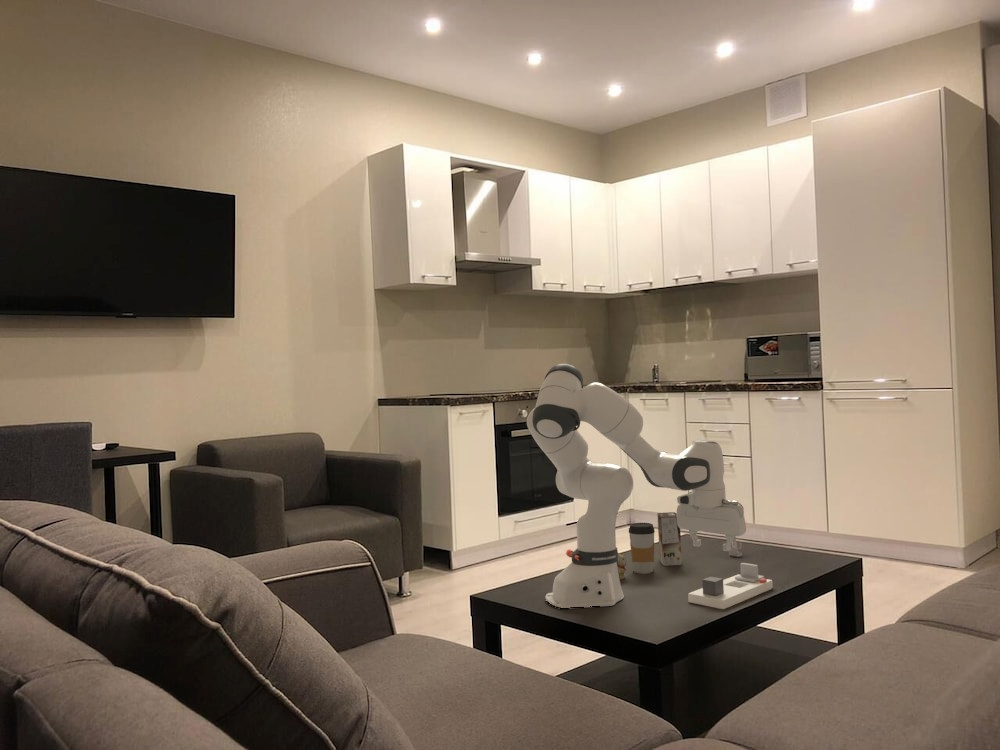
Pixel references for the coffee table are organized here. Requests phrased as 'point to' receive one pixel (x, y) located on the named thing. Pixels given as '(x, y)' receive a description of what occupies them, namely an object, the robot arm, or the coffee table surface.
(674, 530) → the coffee box
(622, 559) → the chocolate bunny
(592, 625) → the coffee table surface
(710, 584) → the dark grey cube
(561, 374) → the robot arm
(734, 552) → the grey uneven upright piece
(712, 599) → the socket plate
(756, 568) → the grey lid with handle
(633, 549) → the coffee cup
